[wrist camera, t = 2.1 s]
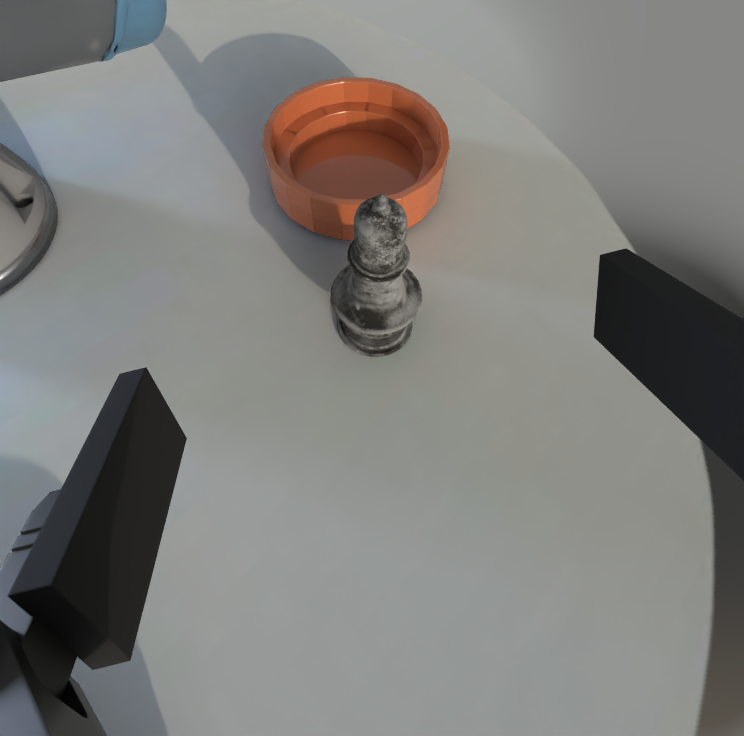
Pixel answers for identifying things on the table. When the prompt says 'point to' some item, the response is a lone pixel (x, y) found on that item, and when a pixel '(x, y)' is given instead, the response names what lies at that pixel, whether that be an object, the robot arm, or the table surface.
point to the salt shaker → (377, 281)
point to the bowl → (354, 152)
